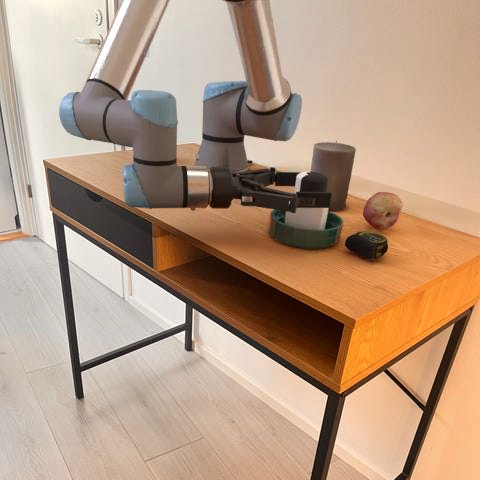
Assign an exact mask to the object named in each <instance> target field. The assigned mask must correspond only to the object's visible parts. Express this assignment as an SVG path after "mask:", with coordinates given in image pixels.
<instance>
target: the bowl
mask: <svg viewBox="0 0 480 480" xmlns="http://www.w3.org/2000/svg"><path fill="white" fill-rule="evenodd" d="M285 216H286V211H281V210H274V209H272V211H271V212H270V214H269V222H268V233H269V235H270V236H271V237H273V238H274V240H276V241H278V242H279V243H281V244H283V245H286V246H289V247H294V248H297V249H306V250H319V249H327V248H329V247H330V248H331V247H332V246H333V245H334V246H335V245H336V244H337V243H339V242H340V240H341V237H342V232H343V227H344V226H343V225H344V220H343V219H342V217H341V216H339V215H337V214H336V213H334V212H333V211H330V210H328V214H327V220H326V226H325V229H320V230H315V229H304V228H298V227H293V226H290V225H286V224H285Z"/></svg>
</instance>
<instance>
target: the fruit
mask: <svg viewBox="0 0 480 480" xmlns="http://www.w3.org/2000/svg"><path fill="white" fill-rule="evenodd" d="M403 206H404V205H403V201H402V198H401V197H399V196H398V195H397V194H395V193H393V192H389V191H388V192H387V191H378V192H376V193H374V194H373V195H371V196H370V197H369V198H368V199H367V201H366V203H365V205H364V207H363V211H362V217H363V218H364V220H365V221H366V222H367V224H369V226H370V227H372V228H373V229H375V230H379V231H384V230H387V229H390V228H392V227H393V226H395V225H396V224H397V222H398V221H399V219H400V217H401V214H402V210H403Z"/></svg>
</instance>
